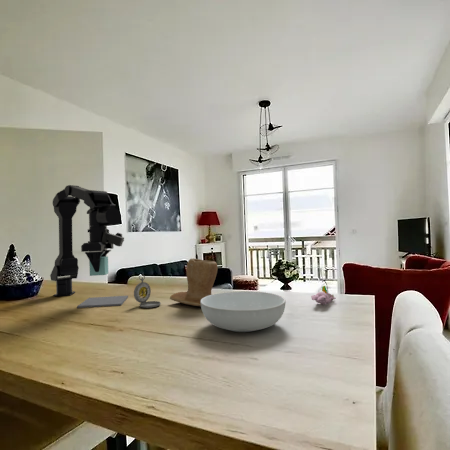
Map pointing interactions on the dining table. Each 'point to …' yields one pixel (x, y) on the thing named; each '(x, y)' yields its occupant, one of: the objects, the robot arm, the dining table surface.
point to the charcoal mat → (103, 301)
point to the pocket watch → (141, 289)
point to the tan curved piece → (197, 282)
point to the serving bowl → (243, 310)
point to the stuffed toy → (323, 297)
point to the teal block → (103, 267)
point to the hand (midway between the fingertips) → (99, 270)
